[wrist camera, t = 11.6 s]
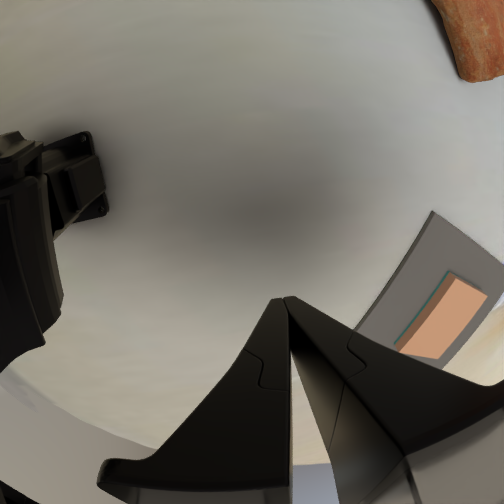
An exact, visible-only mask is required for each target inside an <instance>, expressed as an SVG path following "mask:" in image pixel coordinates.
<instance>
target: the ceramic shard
mask: <svg viewBox="0 0 504 504" xmlns="http://www.w3.org/2000/svg"><path fill="white" fill-rule="evenodd" d="M431 1H432V2H433V4H434V5H435V6H436V7H437V9H438V10H439V12H440V14H441V16H442V18H443V23H444V27H445V30H446V32H447V35H448V38H449V41H450V44H451V47H452V50H453V53H454V56H455V60H456V64H457V68H458V73H459V75H460V77H461V78H462V79H463V80H465V81H467V82H470V83H475V82H481V81H488V80H493V78H495V77H498V76H502V75H504V0H431Z"/></svg>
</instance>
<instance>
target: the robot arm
mask: <svg viewBox="0 0 504 504" xmlns="http://www.w3.org/2000/svg"><path fill="white" fill-rule="evenodd" d="M83 135H84V136H85V137H86V140H85V141H83V139H82V137H83ZM104 191H105V184H104V180H103V176H102V172H101V168H100V164H99V160H98V157H97V156H96V155H95V152H94V147H93V143H92V138H91V134H90V133H89V132H87V131H84V132H80V133H78V134H75V135H72V136H69V137H67V138H64V139H62V140H59V141H56V142H54V143H51V144H49V145H47V146H44V147H43V142H35V141H27V139H24V138H23V136H22V135H21V134H20V132H19V131H15V132H10V133H6V134H3V135H0V373H1V372H2V371H3V370H4V369H5V368H6V367H7V366H8V365H9V364H10V363H11V362H12V361H13V360H14V359H15V358H17V357H18V356H20V355H22V354H24V353H25V352H27V351H29V350H32V349H35V348H38V347H41V346H44V345H45V343H46V341H45V339H44V336H43V333H44V332H45V331H47V330H48V329H49V328H50V327H51V326H52V325H53V324H54V323H55V322H56V321H57V319H58V318H59V316H60V315H61V310H60V308H61V305H62V301H63V296H64V293H63V289H62V285H61V280H60V275H59V270H58V265H57V260H56V254H55V248H54V242H53V241H54V240H55V239H56V238H57V237H58V236H59V235H60V234H61V233H62V232H63V231H64V230H65V229H66V228H67V227H68V226H69V225H70V224H72V223H76V222H81V221H85V220H89V219H94V218H98V217H103V216H105V215H106V214H107V213H108V212H109V206H108V203H107V199H106V195H105V192H104ZM100 207H102V208H104V211H101V209H100ZM291 354H292V357H293V360H294V363H295V365H296V368H297V371H298V374H299V376H300V379H301V382H302V384H303V387H304V390H305V393H306V395H307V398H308V401H309V404H310V406H311V409H312V412H313V415H314V417H315V420H316V423H317V425H318V428H319V431H320V434H321V436H322V439H323V442H324V445H325V447H326V450H327V453H328V456H329V458H330V462H331V465H332V469H333V473H334V478H335V483H336V488H337V493H338V499H339V503H340V504H504V380H502V381H500V382H499V383H497V384H495V385H492V386H483V385H479V384H476V383H474V382H471V381H469V380H466V379H463V378H461V377H458V376H456V375H453V374H451V373H448V372H446V371H443V370H441V369H438V368H436V367H434V366H431V365H429V364H426V363H424V362H421V361H419V360H417V359H414V358H412V357H409V356H407V355H405V354H402V353H400V352H397V351H395V350H393V349H390V348H388V347H386V346H384V345H381V344H379V343H377V342H375V341H373V340H371V339H369V338H367V337H365V336H364V335H362V334H360V333H358V332H357V331H354V330H352V329H351V328H349V327H347V326H345V325H344V324H342V323H340V322H338V321H337V320H335V319H333V318H332V317H330V316H328V315H326V314H325V313H323V312H321V311H319V310H318V309H316V308H314V307H313V306H311V305H309V304H308V303H306V302H304V301H302V300H301V299H299V298H297V297H296V296H288V297H284V298H283V299H282V298H275V299H271V300H270V302H269V304H268V305H267V307H266V309H265V311H264V312H263V314H262V316H261V318H260V319H259V321H258V323H257V325H256V326H255V328H254V330H253V332H252V333H251V335H250V337H249V339H248V340H247V342H246V344H245V345H244V347H243V349H242V350H241V352H240V353H239V355H238V357H237V358H236V360H235V361H234V363H233V364H232V366H231V367H230V369H229V370H228V371H227V372H226V374H225V375H224V376H223V377H222V379H221V380H220V381H219V382H218V383H217V384H216V386H215V387H214V388H213V389H212V390H211V391H210V392H209V394H208V395H207V396H206V397H205V398H204V399H203V401H202V402H201V403H200V404H199V405H198V406H197V407H196V408H195V410H194V411H193V412H192V413H191V414H190V415H189V416H188V417H187V419H186V420H185V421H184V422H183V423H182V424H181V425H180V426H179V427H178V428H177V430H176V431H175V432H174V433H173V434H172V435H171V436H170V437H169V438H168V439H167V440H166V441H165V442H164V444H163V445H162V446H161V447H160V448H159V449H158V450H157V451H156V452H155V453H154V454H153V455H151V456H149V457H147V458H145V459H141V460H131V459H121V458H110V459H106V460H105V461H104V462H103V463H102V465H101V467H100V471H99V473H98V477H97V486H98V487H99V488H100V489H102V490H104V491H105V492H107V493H109V494H110V495H112V496H114V497H116V498H118V499H120V500H122V501H124V502H125V503H127V504H292V487H293V476H292V475H293V429H292V375H291ZM0 504H39V503H37V502H35V501H33V500H32V499H30V498H28V497H26V496H25V495H24V494H22V493H20V492H18V491H17V490H15V489H13V488H12V487H10V486H9V485H7V484H5V483H4V482H2V481H1V480H0Z"/></svg>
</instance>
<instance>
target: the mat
mask: <svg viewBox="0 0 504 504" xmlns="http://www.w3.org/2000/svg"><path fill="white" fill-rule="evenodd" d="M447 271H450V272H452V273H454V274H455V275H457V276H459V277H461V278H463V279H464V280H466V281H468V282H470V283H471V284H473V285H475V286H477V287H478V288H480V289H481V290H482V291H483V292H484V293H485V294H486V295H487V296H488V297H487V298H486V300H485V301H484V302H483V304H482V305H481V307H480V308H479V309H478V311H477V312H476V313H475V315H474V316H473V317H472V319H471V320H470V321H469V323H468V324H467V325H466V326H465V328H464V329H463V330H462V331H461V333H460V334H459V335H458V336H457V338H456V339H455V340H454V341H453V342H452V344H451V345H450V346H449V347H448V348H447V349H446V350H445V352H444V353H443V354H442V355H441V356H440V357H439V358H438V359H434V358H428V357H421V356H415V355H409V354H405V355H407V356H409V357H412V358H414V359H417V360H419V361H421V362H424V363H426V364H429V365H431V366H434V367H436V368H438V369H441V370H442V369H443V368H444V366H445V365H446V364H447V363H448V362H449V361H450V360H451V359H452V358H453V357H454V355H455V354H456V353H457V352H458V351H459V350H460V349H461V347H462V346H463V345H464V344H465V343H466V342H467V340H468V339H469V338H470V337H471V335H472V334H473V333H474V332H475V331H476V329H477V328H478V327H479V325H480V324H481V323H482V321H483V320H484V319H485V318H486V316H487V315H488V313H489V312H490V311H491V309H492V308H493V307H494V305H495V304H496V302H497V301H498V299H499V298H500V296H501V295H502V293H503V292H504V265H502V264H501V263H500V262H499V261H498V260H496V259H495V258H494V257H493V256H492V255H490V254H489V253H488V252H487V251H486V250H484V249H483V248H482V247H481V246H479V245H478V244H477V243H475V242H474V241H473V240H472V239H470V238H469V237H468V236H466V235H465V234H464V233H462V232H461V231H460V230H458V229H457V228H456V227H454V226H453V225H451V224H450V223H449V222H447V221H446V220H444V219H443V218H442V217H440V216H439V215H437V214H436V213H434V212H433V211H432V212H431V214H430V216H429V217H428V219H427V221H426V223H425V224H424V226H423V228H422V230H421V231H420V233H419V235H418V236H417V238H416V240H415V241H414V243H413V245H412V246H411V248H410V250H409V251H408V253H407V254H406V256H405V258H404V259H403V261H402V262H401V264H400V265H399V267H398V268H397V270H396V272H395V273H394V275H393V276H392V278H391V279H390V281H389V282H388V283H387V285H386V286H385V288H384V289H383V291H382V292H381V294H380V295H379V296H378V298H377V299H376V301H375V302H374V303H373V305H372V306H371V308H370V309H369V310H368V312H367V313H366V314H365V316H364V317H363V318H362V320H361V321H360V322H359V324H358V325H357V326H356V328H355V329H354V331H357V332H358V333H360V334H362V335H364V336H365V337H367V338H369V339H371V340H373V341H375V342H377V343H379V344H381V345H384V346H386V347H388V348H390V349H393V350H395V351H397V352H398V350H397V349H396V347H395V345H394V342H395V341H396V340H397V338H398V337H399V336H400V335H401V334H402V332H403V331H404V330H405V329H406V327H407V326H408V325H409V324H410V322H411V321H412V320H413V319H414V317H415V316H416V315H417V313H418V312H419V311H420V309H421V308H422V307H423V305H424V304H425V303H426V301H427V300H428V299H429V297H430V296H431V294H432V293H433V292H434V290H435V289H436V287H437V286H438V284H439V283H440V281H441V280H442V279H443V277H444V276H445V274H446V272H447ZM402 354H404V353H402Z"/></svg>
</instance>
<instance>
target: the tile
mask: <svg viewBox="0 0 504 504" xmlns="http://www.w3.org/2000/svg"><path fill="white" fill-rule="evenodd" d="M487 297H488V296H487V295H486V294H485V293H484V292H483V291H482V290H481V289H480V288H478V287H477V286H475V285H473V284H471V283H470V282H468V281H466V280H464V279H463V278H461V277H459V276H457V275H455V274H454V273H452V272H450V271H447V272H446V274H445V276H444V277H443V279H442V280H441V281H440V283H439V284H438V286H437V287H436V289H435V290H434V292H433V293H432V294H431V296H430V297H429V299H428V300H427V301H426V303H425V304H424V305H423V307H422V308H421V309H420V311H419V312H418V313H417V315H416V316H415V317H414V319H413V320H412V321H411V322H410V324H409V325H408V326H407V327H406V329H405V330H404V331H403V332H402V334H401V335H400V336H399V337H398V338H397V340H396V341H395V342H394V345H395V347H396V349H397V350H398V352H400V353H404V354H409V355H415V356H421V357H428V358H434V359H438V358H439V357H440V356H441V355H442V354H443V353H444V352H445V350H446V349H447V348H448V347H449V346H450V345H451V344H452V342H453V341H454V340H455V339H456V338H457V336H458V335H459V334H460V333H461V331H462V330H463V329H464V328H465V326H466V325H467V324H468V323H469V321H470V320H471V319H472V317H473V316H474V315H475V313H476V312H477V311H478V309H479V308H480V307H481V305H482V304H483V302H484V301H485V300H486V298H487Z"/></svg>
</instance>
